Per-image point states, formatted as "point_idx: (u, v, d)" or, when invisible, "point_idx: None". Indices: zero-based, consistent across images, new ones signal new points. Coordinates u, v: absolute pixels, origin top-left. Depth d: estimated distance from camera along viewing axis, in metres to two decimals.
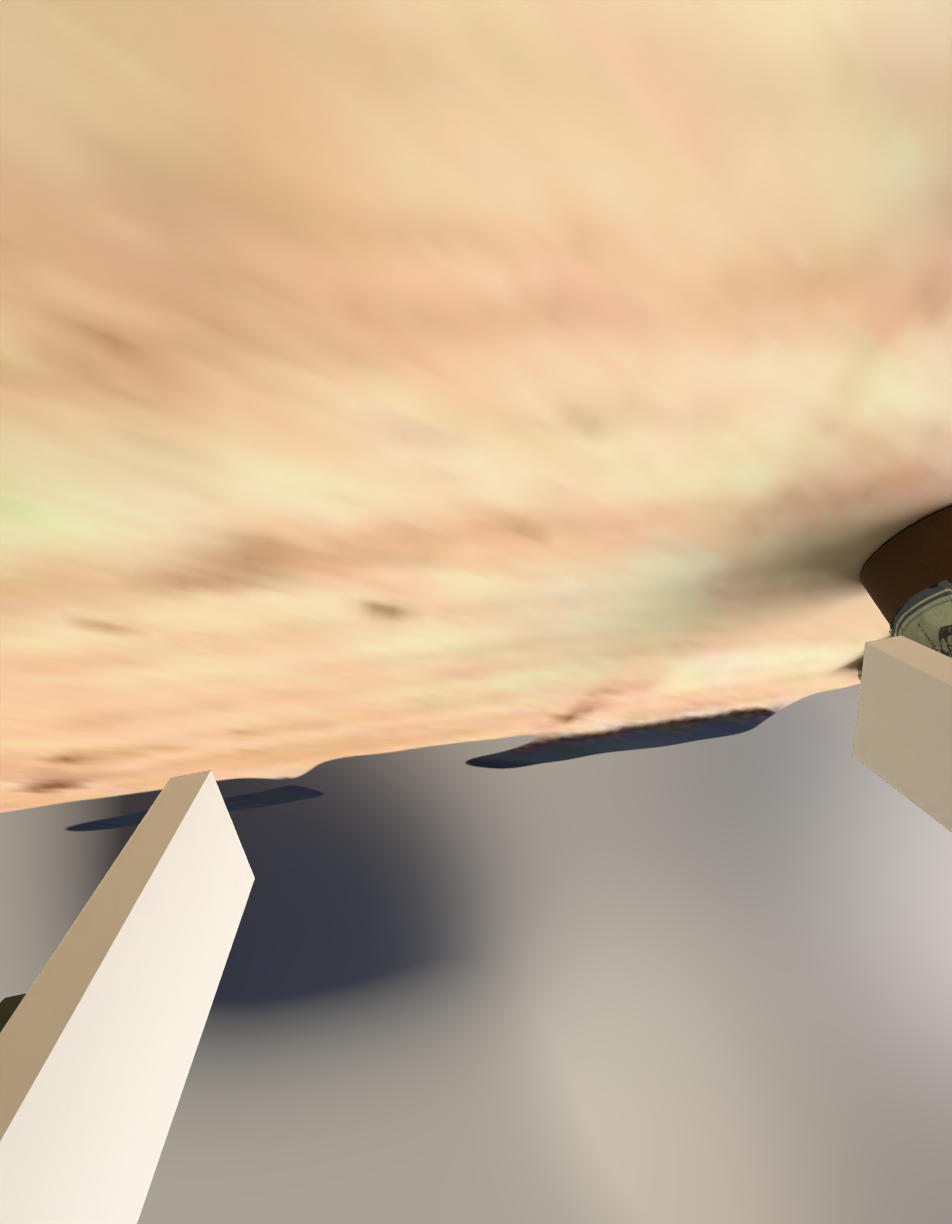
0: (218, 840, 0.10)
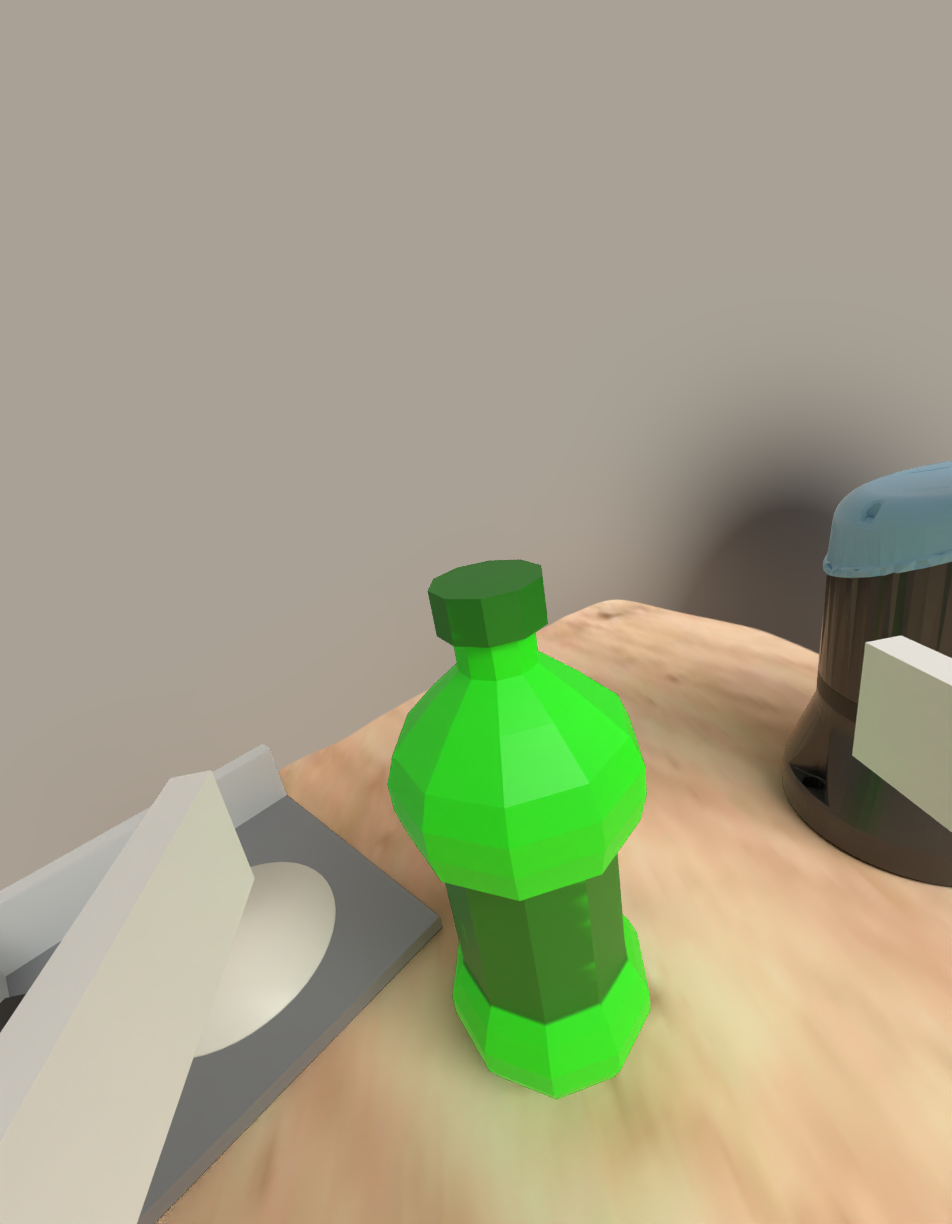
0: (218, 840, 0.10)
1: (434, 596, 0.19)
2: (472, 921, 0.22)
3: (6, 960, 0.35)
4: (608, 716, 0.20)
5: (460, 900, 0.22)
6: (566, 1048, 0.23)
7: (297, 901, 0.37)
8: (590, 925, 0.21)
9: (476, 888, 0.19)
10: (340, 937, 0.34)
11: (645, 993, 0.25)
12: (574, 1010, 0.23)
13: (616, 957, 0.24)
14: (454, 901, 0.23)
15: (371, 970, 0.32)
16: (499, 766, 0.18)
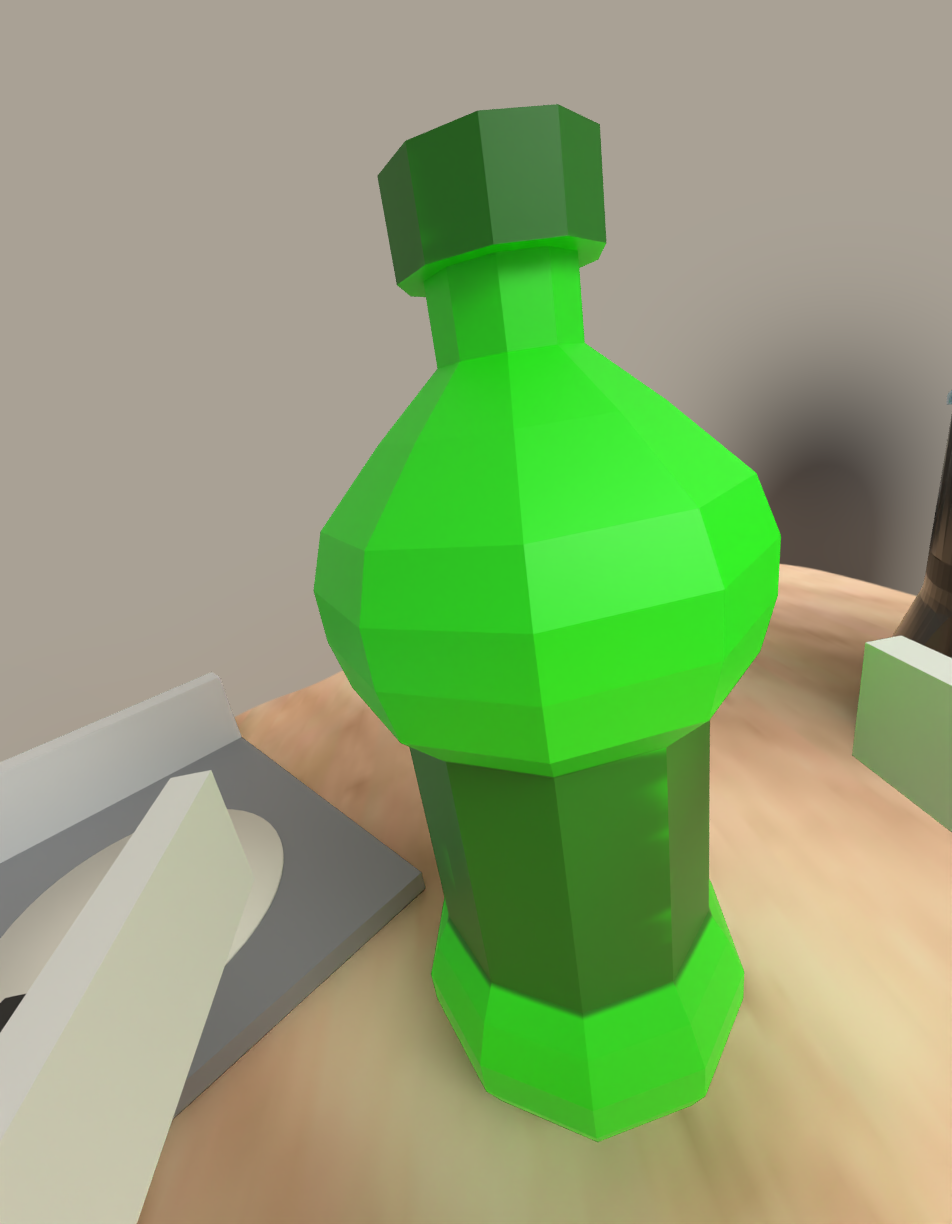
0: (218, 840, 0.10)
1: (388, 170, 0.10)
2: (460, 834, 0.13)
3: None
4: (714, 440, 0.11)
5: (440, 802, 0.13)
6: (619, 1058, 0.13)
7: None
8: (668, 840, 0.12)
9: (465, 747, 0.10)
10: (285, 899, 0.25)
11: (738, 970, 0.15)
12: (631, 994, 0.13)
13: (697, 908, 0.14)
14: (432, 811, 0.14)
15: (322, 942, 0.22)
16: (511, 476, 0.09)
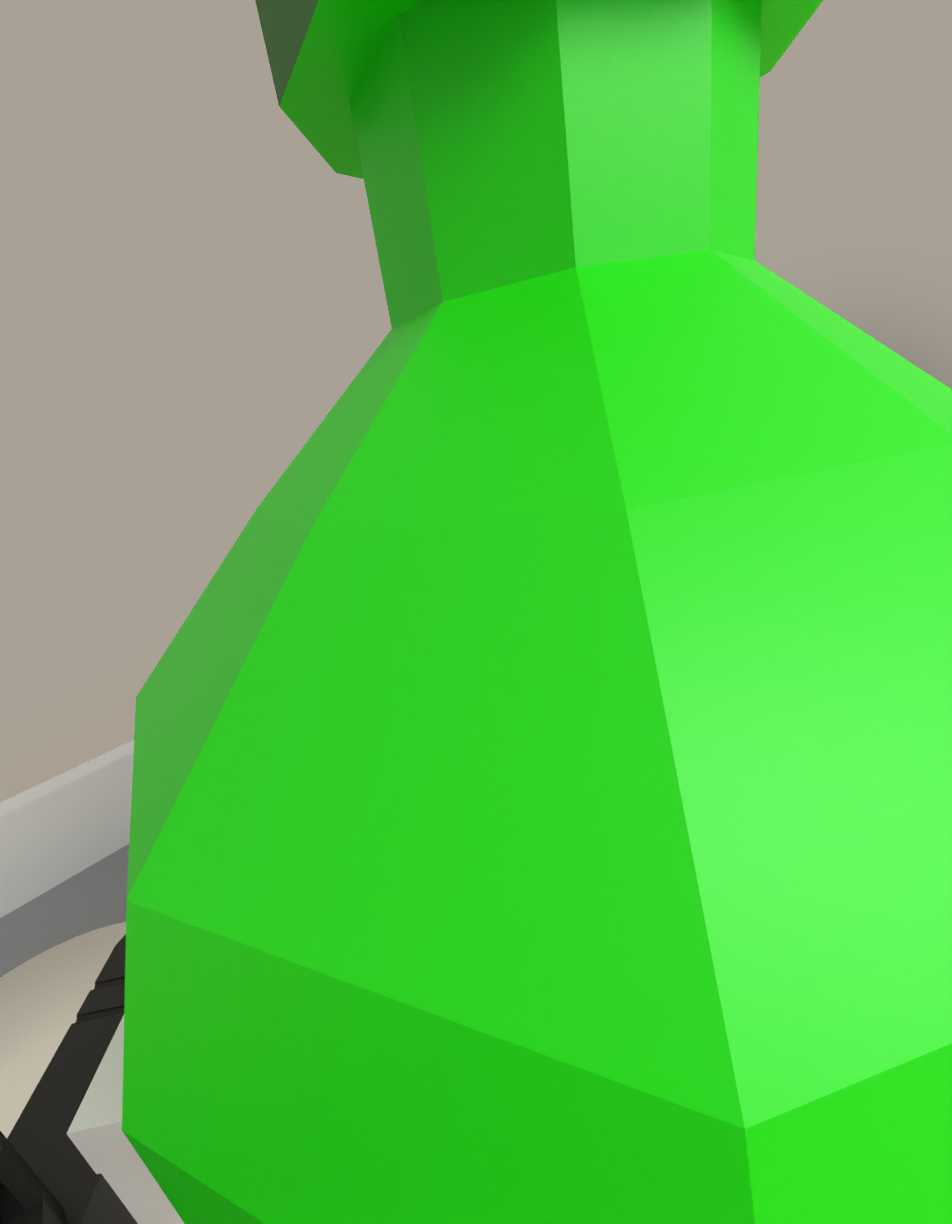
0: None
1: None
2: None
3: None
4: None
5: None
6: None
7: None
8: None
9: None
10: None
11: None
12: None
13: None
14: None
15: None
16: (640, 709, 0.02)
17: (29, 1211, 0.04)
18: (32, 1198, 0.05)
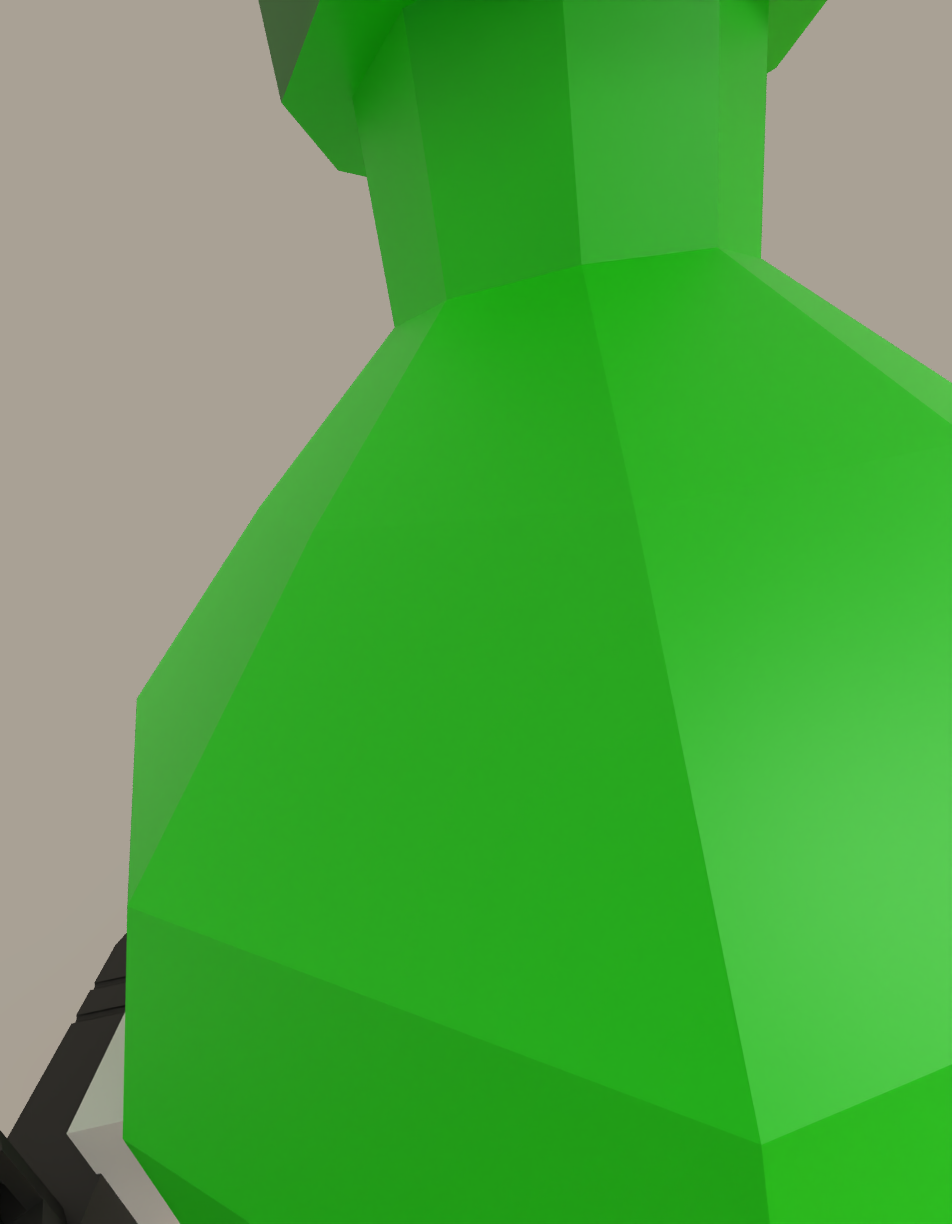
0: None
1: None
2: None
3: None
4: None
5: None
6: None
7: None
8: None
9: None
10: None
11: None
12: None
13: None
14: None
15: None
16: (650, 712, 0.02)
17: (28, 1212, 0.04)
18: (31, 1198, 0.05)
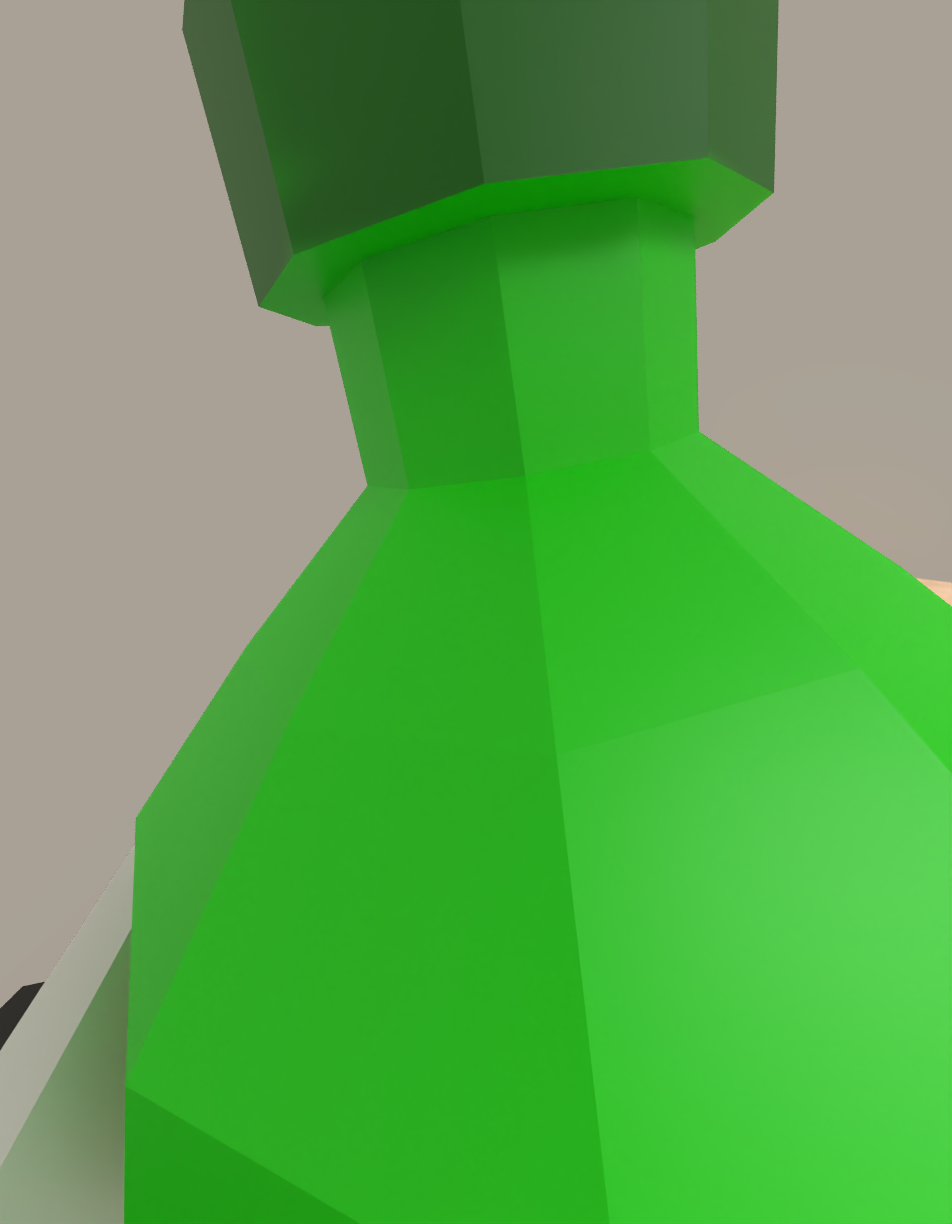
0: None
1: None
2: None
3: None
4: None
5: None
6: None
7: None
8: None
9: None
10: None
11: None
12: None
13: None
14: None
15: None
16: (561, 962, 0.03)
17: None
18: None
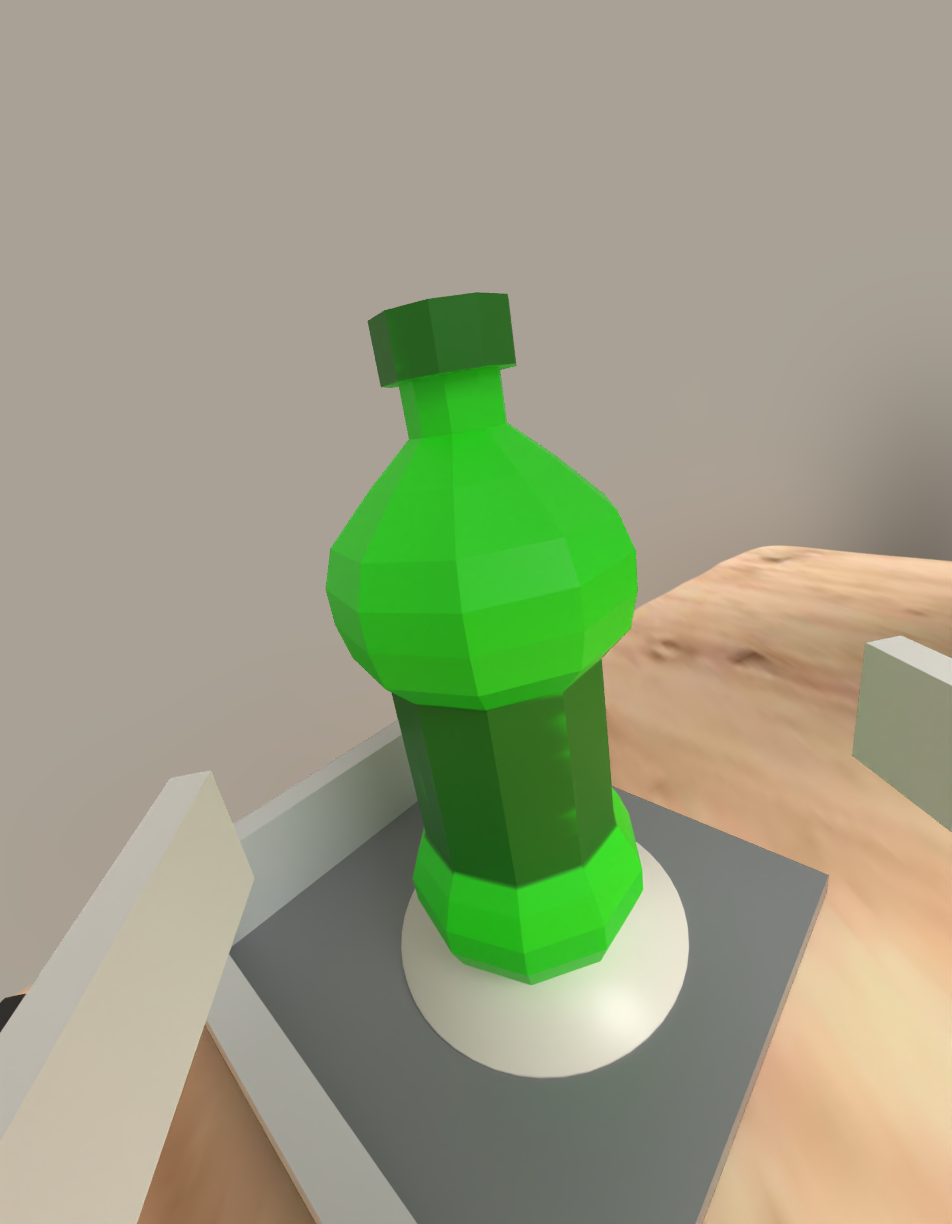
0: (218, 840, 0.10)
1: (374, 321, 0.15)
2: (428, 757, 0.18)
3: None
4: (591, 488, 0.16)
5: (415, 738, 0.19)
6: (542, 917, 0.19)
7: None
8: (569, 758, 0.18)
9: (426, 689, 0.16)
10: (695, 904, 0.24)
11: (637, 866, 0.21)
12: (551, 873, 0.19)
13: (602, 816, 0.20)
14: (410, 747, 0.20)
15: (778, 947, 0.22)
16: (451, 518, 0.14)
17: None
18: None
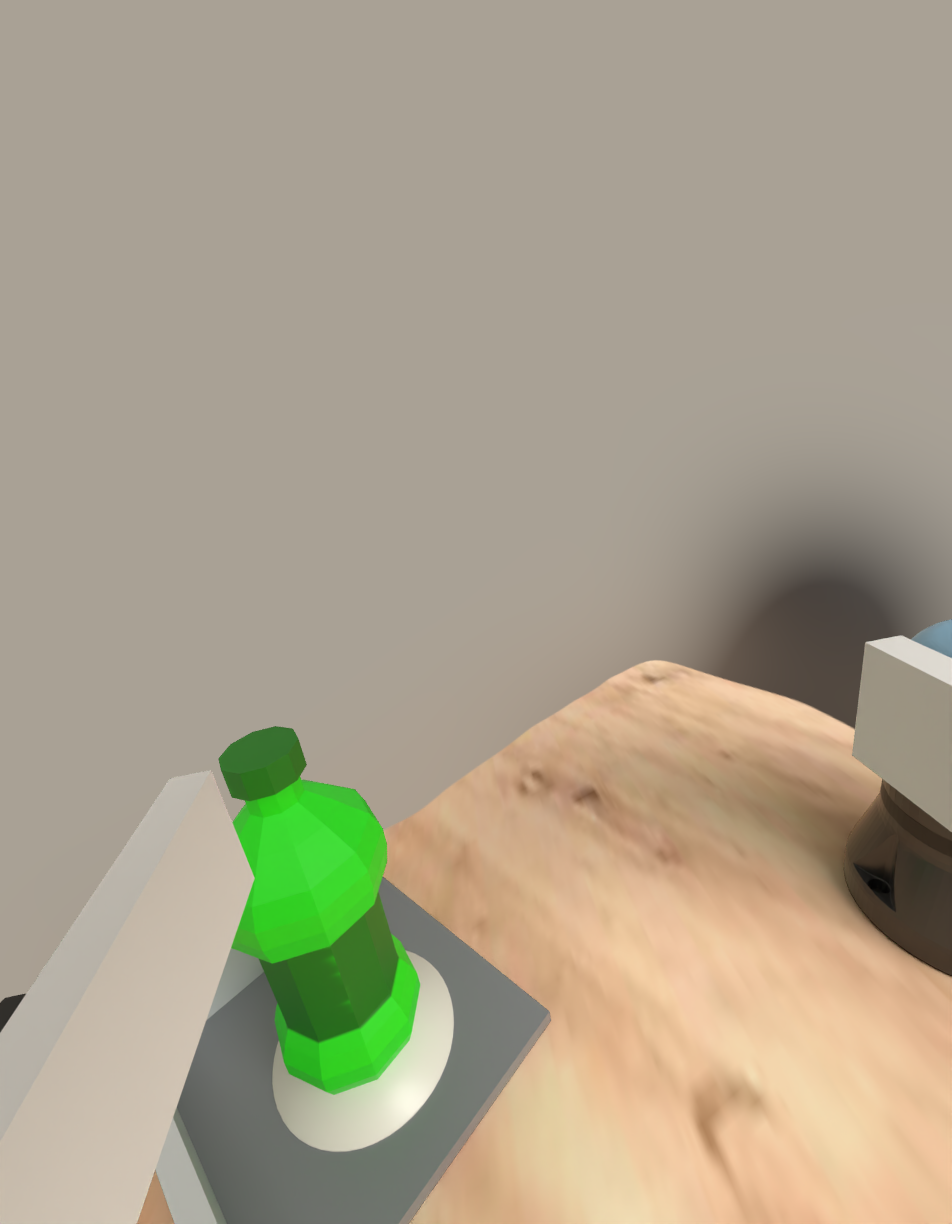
0: (218, 840, 0.10)
1: (220, 764, 0.29)
2: (264, 971, 0.32)
3: None
4: (343, 838, 0.30)
5: None
6: (333, 1059, 0.33)
7: None
8: (340, 975, 0.31)
9: (249, 954, 0.29)
10: (461, 1030, 0.38)
11: (404, 1019, 0.35)
12: (340, 1033, 0.33)
13: (376, 994, 0.34)
14: None
15: (497, 1066, 0.36)
16: None
17: None
18: None
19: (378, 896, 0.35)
